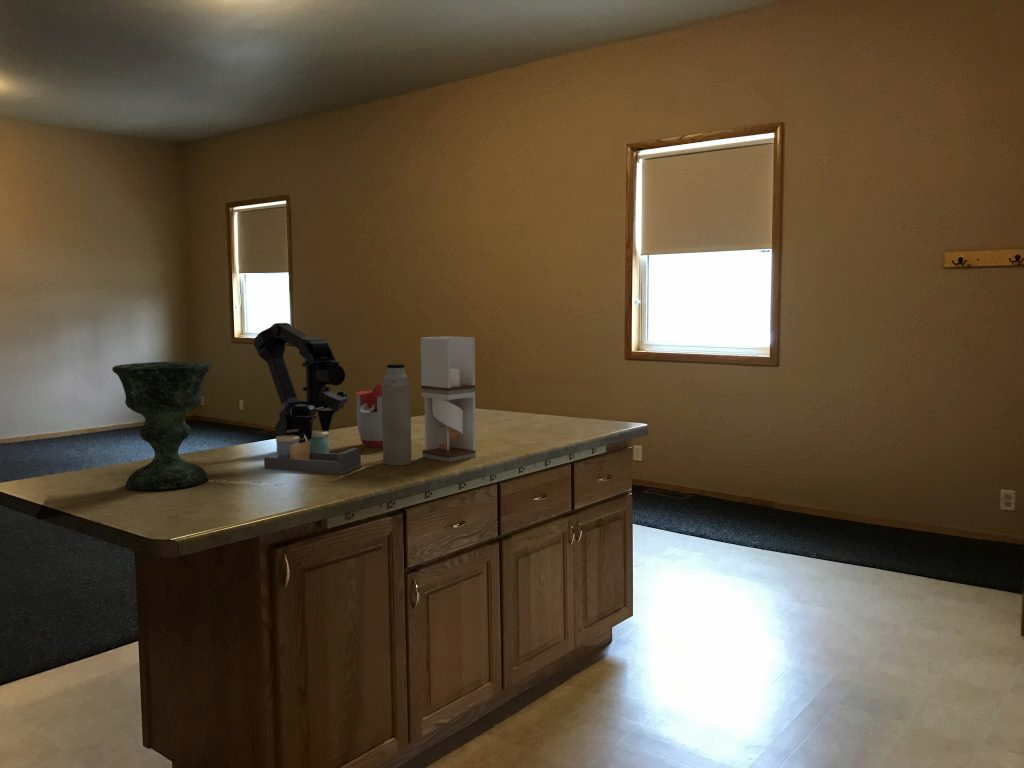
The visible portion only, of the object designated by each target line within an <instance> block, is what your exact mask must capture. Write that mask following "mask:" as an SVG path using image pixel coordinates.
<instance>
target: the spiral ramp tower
mask: <svg viewBox="0 0 1024 768" xmlns="http://www.w3.org/2000/svg"><path fill="white" fill-rule="evenodd" d="M475 340H476V339H475V337H472V336H471V337H468V336H467V337H466V336H433V337H431V336H430V337H429V336H428V337H420V369H421V371H420V373H421V374H420V375H421V377H420V378H421V383H420V384H421V387H420V388H421V398H424V434H425V435H424V436H425V437H424V443H425V444H424V446H425V447H424V448H425V449H423V450H422V451H421V452H422V453H421V454H422V455H421V456H422V458H424V457H425V459H429V460H430V459H431V460H436V461H441V462H446V463H451V462H458V461H462V460H467V459H472V458H476V456H477V453H476V452H477V451H476V445H477V443H476V442H477V441H476V341H475Z"/></svg>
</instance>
